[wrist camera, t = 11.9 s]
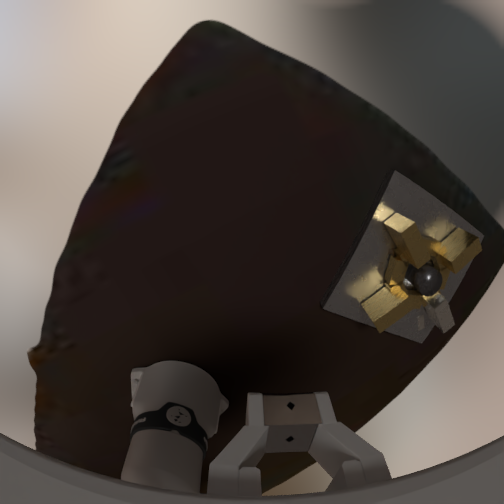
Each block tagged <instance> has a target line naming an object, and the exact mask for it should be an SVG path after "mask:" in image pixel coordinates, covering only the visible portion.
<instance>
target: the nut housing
mask: <svg viewBox="0 0 504 504" xmlns="http://www.w3.org/2000/svg"><path fill="white" fill-rule="evenodd" d="M395 213H398V214H400V215H402V216H404V217H406V218H408V219H410V220H412V221H414V222H415V223H416V225H417V227H418V229H419V232H420V234H421V236H425V237H429V238H434V239H436V240H438V241H440V242H442V241H443V240H445V239H446V238H447V237H448V236H449V235H450V234H452V233H453V232H454V231H455V230H456V229H457V228H458V227H459V228H461V229H463V230H465V231H467V232H469V233H471V234H473V235H475V236H477V237H479V240H480V244H481V242H482V239H483V237H484V235H483V234H481V233H480V232H479V231H478V230H477V229H475V228H474V227H473V226H472V225H471V224H469V223H468V222H467V221H466V220H464V219H463V218H462V217H461V216H459V215H458V214H457V213H455V212H454V211H453V210H451V209H450V208H449V207H448V206H446V205H445V204H443V203H442V202H441V201H439V200H438V199H437V198H435V197H434V196H432V195H431V194H430V193H428V192H427V191H425V190H424V189H423V188H421V187H420V186H418V185H417V184H415V183H414V182H412V181H411V180H409V179H408V178H406V177H405V176H403V175H402V174H400V173H399V172H397V171H395V170H392V169H388V171H387V173H386V175H385V178H384V180H383V182H382V184H381V186H380V188H379V191H378V193H377V195H376V197H375V199H374V201H373V203H372V205H371V207H370V209H369V211H368V213H367V216H366V218H365V220H364V222H363V224H362V226H361V228H360V229H359V231H358V233H357V235H356V237H355V239H354V241H353V243H352V245H351V247H350V249H349V251H348V253H347V254H346V256H345V258H344V260H343V262H342V264H341V266H340V267H339V269H338V271H337V273H336V275H335V277H334V278H333V280H332V282H331V284H330V285H329V287H328V289H327V291H326V292H325V294H324V296H323V298H322V299H321V301H320V304H321V306H322V308H323V309H325V310H328V311H330V312H333V313H336V314H339V315H341V316H344V317H347V318H350V319H353V320H355V321H358V322H361V323H364V324H367V325H370V326H372V327H375V325H374V324H373V322H372V321H371V319H370V318H369V316H368V315H367V313H366V312H365V310H364V308H363V307H362V305H361V304H362V303H363V302H365V301H366V300H367V299H369V298H370V297H372V296H373V295H374V294H376V293H377V292H379V291H380V290H381V289H383V288H384V287H385V284H384V283H385V282H387V281H386V280H385V279H384V277H385V273H386V270H387V267H388V263H389V260H390V256H391V255H392V256H396V254H395V252H394V250H395V249H397V247H396V245H395V243H394V242H393V240H392V238H391V236H390V234H389V232H388V230H387V228H386V226H385V225H384V223H383V222H385V221H386V220H387V219H389V218H390V217H391V216H393V215H394V214H395ZM430 257H431V256H430ZM472 260H473V259H472ZM472 260H471V261H470V262H469V263H468V264H467V265H466V266H464V267H463V268H462V269H461V270H460V271H459V272H458V273H457V274H454V273H453V272H452V271H450V274H449V277H448V280H447V282H446V285H445V288H444V290H443V289H440V287H441V285H442V281H443V278H442V274H441V273H440V272H439V271H438V270H436V269H435V268H434V267H433V266H434V264H433V261H432V259H430V260H429V261H428V262H426V263H425V264H424V265H423V266H422V267H420V268H419V269H417V268H416V267H414V266H413V265H412V264H409V265H408V268H407V271H406V275H405V278H404V281H403V284H404V286H405V288H406V290H418V291H419V292H420V293H421V294H423V295H424V296H426V297H429V296H432V295H434V294H436V293H437V292H438V290H440V292H441V295H442V296H443V297H445V298H446V299H447V302H448V303H449V301H450V300H451V298H452V296H453V295H454V293H455V291H456V290H457V288H458V286H459V284H460V283H461V281H462V279H463V277H464V275H465V273H466V272H467V270H468V268H469V266H470V264H471V262H472ZM434 325H435V324H434V323H433V321H432V320H431V319H430V318H429V317H428V314H427V312H426V310H425V307H423V306H422V305H421V307H420V309H413V310H411V311H410V312H409V313H407V314H406V315H405V316H403V317H402V318H401V319H399V320H398V321H397V322H395V323H394V324H392V325H391V326H390V327H388V328H387V329H385V330H384V331H387V332H390V333H393V334H395V335H398V336H401V337H404V338H407V339H410V340H413V341H416V342H419V343H423V341H424V340H425V338H426V337H427V336H428V334H429V333H430V331H431V330H432V328H433V327H434ZM375 328H376V327H375Z"/></svg>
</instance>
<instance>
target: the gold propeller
mask: <svg viewBox="0 0 504 504" xmlns="http://www.w3.org/2000/svg"><path fill="white" fill-rule="evenodd" d="M383 223H384V225H385V226H386V228H387V230H388V232H389V234H390V236H391V238H392V240H393V242H394V243H395V245H396V247H397V249H395V250H394V252H395V254H396V256H392V255H391V256H390V260H389V263H388V267H387V270H386V273H385V277H384V279H385V280H386V281H387V282H385V283H384V284H385V287H384V288H383V289H381V290H380V291H379V292H377V293H376V294H374V295H373V296H372V297H370V298H369V299H367V300H366V301H365V302H363V303H362V304H361V305H362V307H363V308H364V310H365V312H366V313H367V315H368V316H369V318H370V319H371V321H372V322H373V324H374V325H375V327H376V328H377V330H378V331H379V333H381V332H383V331H384V330H385V329H387V328H388V327H390V326H391V325H392V324H394V323H395V322H397V321H398V320H399V319H401V318H402V317H403V316H405V315H406V314H407V313H409V312H410V311H411V310H413V309H420V307H421V305H422V306H423V307H425V310H426V312H427V314H428V317H429V318H430V319H431V320H432V321H433V323H434V324H435V325H436V326H437V327H438V328H439V329H440V330H441V331H442V332H443V333H445V332H446V331H447V330H449V329H450V328H451V327H452V326H453V325H455V323H454V320H453V317H452V314H451V311H450V308H449V305H448V302H447V299H446V298H445V297H443V296H442V295H441V292H440V290H438V292H437V293H436V294H434V295H432V296H429V297H426V296H424V295H423V294H421V293H420V292H419V291H418V290H406V288H405V286H404V284H403V281H404V278H405V275H406V271H407V268H408V265H409V264H412V265H413V266H414V267H416V268H417V269H419V268H420V267H422V266H423V265H424V264H425V263H426V262H428V261H429V260H430V259H432V261H433V264H434V266H433V267H434V268H435V269H436V270H438V271H439V272H440V273H441V274H442V278H443V281H442V285H441V287H440V289H443V290H444V288H445V285H446V282H447V280H448V277H449V274H450V271H452V272H453V273H454V274H457V273H458V272H459V271H460V270H461V269H462V268H463V267H464V266H466V265H467V264H468V263H469V262H470V261H471V260H472V259H473V258H474V257H475V256H476V255H477V254H478V253H480V252H481V251H482V248H481V244H480V240H479V237H477V236H475V235H473V234H471V233H469V232H467V231H465V230H463V229H461V228H459V227H458V228H457V229H456V230H455V231H454V232H453V233H452V234H450V235H449V236H448V237H447V238H446V239H445V240H443V241H442V242H440V241H438V240H436V239H434V238H429V237H425V236H421V234H420V232H419V229H418V227H417V225H416V223H415V222H414V221H412V220H410V219H408V218H406V217H404V216H402V215H400V214H398V213H395V214H394V215H393V216H391V217H390V218H389V219H387V220H386V221H385V222H383ZM430 256H431V257H430Z"/></svg>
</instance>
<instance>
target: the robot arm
mask: <svg viewBox="0 0 504 504" xmlns="http://www.w3.org/2000/svg"><path fill="white" fill-rule="evenodd" d="M131 388H132V402H131V406H132V407H133V416H134V424H133V425H132V428H131V434H130V441H131V443H130V446H129V450H128V453H127V456H126V459H125V463H124V466H123V470H122V473H121V480H120V479H116V478H112V477H109V476H105V475H101V474H98V473H95V472H91V471H88V470H85V469H82V468H79V467H76V466H73V465H71V464H68V463H65V462H62V461H60V460H57V459H55V458H52V457H50V456H47V455H45V454H43V453H40V452H38V451H36V450H33V449H31V448H29V447H27V446H24V445H23V444H21V443H18V442H17V441H15V440H12V439H10V438H9V437H7V436H5V435H3V434H1V433H0V504H504V436H502V437H500V438H498V439H496V440H494V441H492V442H491V443H488V444H486V445H484V446H482V447H480V448H478V449H475V450H473V451H471V452H469V453H467V454H464V455H462V456H459V457H457V458H454V459H452V460H449V461H446V462H444V463H441V464H438V465H436V466H433V467H430V468H427V469H424V470H421V471H417V472H414V473H411V474H408V475H404V476H401V477H397V478H393V479H392V478H391V475H390V472H389V469H388V467H387V465H386V461H385V459H384V456H383V454H382V453H381V452H379V451H378V450H376V449H375V448H374V447H373V446H371V445H370V444H369V443H367V442H366V441H365V440H363V439H362V438H361V437H359V436H358V435H357V434H355V433H354V432H353V431H351V430H350V429H349V428H348V427H346V426H345V425H344V424H342V423H341V422H337V421H336V418H335V414H334V411H333V408H332V404H331V401H330V398H329V395H328V393H327V392H314V393H313V392H309V393H288V394H287V393H248V397H247V409H246V426H244V427H243V428H242V429H241V430H240V431H239V432H238V434H237V435H236V436H235V437H234V438H233V439H232V440H231V442H230V443H229V444H228V445H227V446H226V447H225V448H224V449H223V450H222V452H221V453H220V454H219V455H218V456H217V457H216V458H215V459H214V460H213V461H212V462H211V463H210V466H209V477H208V488H207V494H202V493H200V482H201V471H202V461H203V460H204V458H205V456H206V451H207V448H208V443H207V442H208V439H209V438H210V437H212V436H213V435H214V434H216V432H217V429H218V423H219V416H220V415H221V414H222V413H223V412H224V411H225V410H226V409H227V408H228V406H229V401H228V400H227V399H226V398H225V397H224V396H223V395H222V394H221V392H220V390H219V387H218V385H217V383H216V381H215V380H214V379H213V378H212V377H211V376H210V375H209V374H208V373H207V372H205V371H204V370H202V369H201V368H199V367H197V366H194V365H192V364H189V363H185V362H180V361H162V362H158V363H155V364H153V365H151V366H149V367H146V368H134V369H133V370H132V372H131ZM299 451H308V452H309V453H310V454H311V456H312V457H313V458H314V459H315V460H316V461H317V462H318V463H319V464H320V465H321V466H322V467H323V469H325V471H326V472H327V473H328V474H329V475H330V476H331V477H332V478H333V480H332V482H331V483H330V485H329V486H328V488H327V489H326V491H325V492H317V493H307V494H295V495H278V496H262V494H261V477H260V470H259V469H258V468H256V467H255V466H256V465H257V464H258V462H259V461H260V459H261V458H262V456H263V455H264V453H273V452H299Z"/></svg>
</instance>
